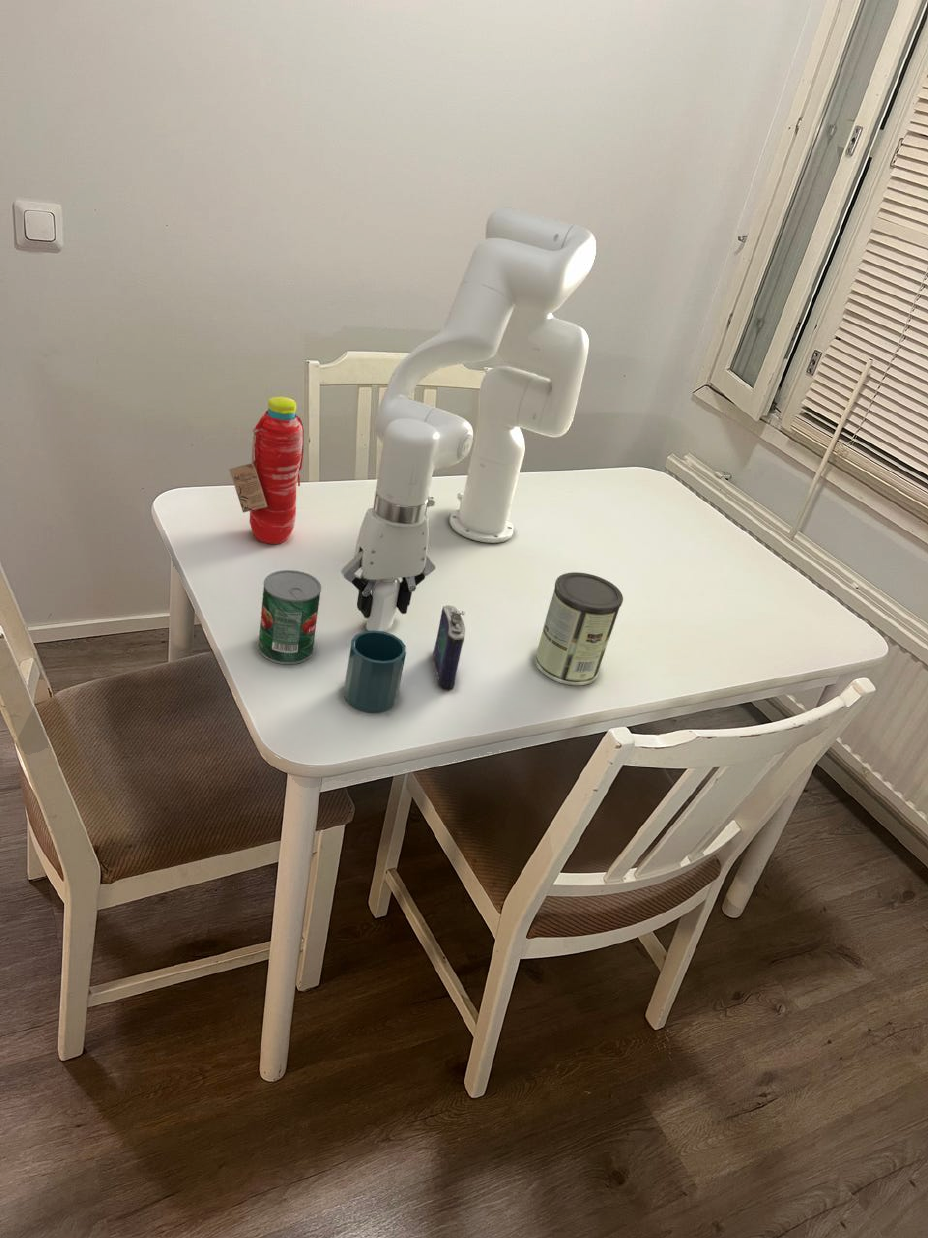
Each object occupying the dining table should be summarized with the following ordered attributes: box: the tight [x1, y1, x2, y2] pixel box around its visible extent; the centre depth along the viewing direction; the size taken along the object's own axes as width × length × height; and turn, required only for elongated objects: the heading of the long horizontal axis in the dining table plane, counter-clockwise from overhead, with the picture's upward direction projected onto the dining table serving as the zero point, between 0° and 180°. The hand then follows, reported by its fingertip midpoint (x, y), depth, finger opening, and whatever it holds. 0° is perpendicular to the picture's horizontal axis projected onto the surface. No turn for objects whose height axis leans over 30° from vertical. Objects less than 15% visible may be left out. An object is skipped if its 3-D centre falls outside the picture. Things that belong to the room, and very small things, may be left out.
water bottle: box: [228, 396, 305, 545], centre depth 148 cm, size 12×8×25 cm, turn 127°
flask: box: [432, 604, 466, 691], centre depth 129 cm, size 9×3×11 cm, turn 8°
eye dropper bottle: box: [365, 578, 401, 632], centre depth 136 cm, size 4×6×12 cm
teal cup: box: [343, 630, 407, 714], centre depth 122 cm, size 7×7×8 cm
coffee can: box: [534, 571, 624, 686], centre depth 136 cm, size 10×10×14 cm
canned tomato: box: [257, 569, 322, 665], centre depth 126 cm, size 8×8×11 cm
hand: (382, 610), depth 137 cm, fingers closed on eye dropper bottle, 5 cm apart
